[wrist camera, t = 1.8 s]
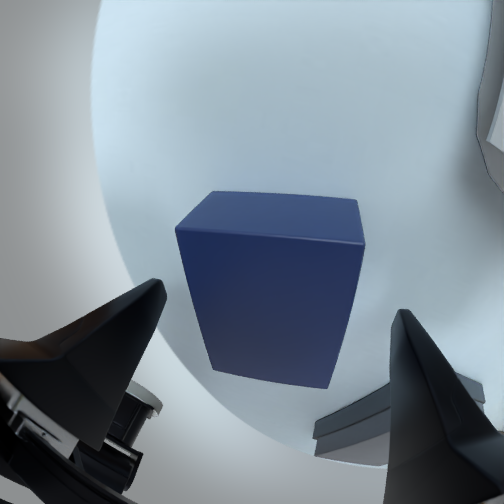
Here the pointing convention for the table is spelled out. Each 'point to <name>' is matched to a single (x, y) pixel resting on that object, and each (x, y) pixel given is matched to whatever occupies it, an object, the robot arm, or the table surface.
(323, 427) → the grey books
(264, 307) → the navy block
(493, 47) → the book
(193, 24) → the table surface
